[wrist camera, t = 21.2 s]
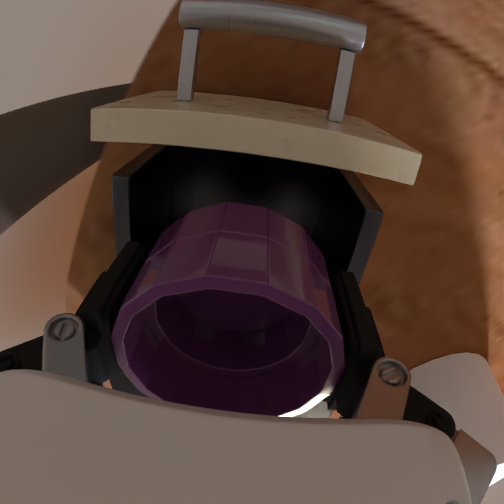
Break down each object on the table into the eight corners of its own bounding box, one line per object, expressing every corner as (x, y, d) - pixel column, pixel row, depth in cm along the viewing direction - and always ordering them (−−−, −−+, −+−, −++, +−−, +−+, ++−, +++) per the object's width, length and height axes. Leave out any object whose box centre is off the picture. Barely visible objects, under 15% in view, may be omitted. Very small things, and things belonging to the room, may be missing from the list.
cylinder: (403, 439, 38) (426, 598, 15) (334, 414, 33) (347, 635, 9) (500, 378, 31) (554, 547, 7) (461, 330, 26) (542, 588, 2)
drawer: (167, 15, 13) (102, -15, 7) (376, 44, 14) (448, 34, 7) (156, 279, 23) (121, 362, 16) (313, 300, 23) (326, 390, 16)
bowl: (158, 325, 14) (130, 407, 10) (152, 186, 11) (93, 257, 7) (302, 345, 15) (308, 431, 11) (344, 213, 11) (381, 296, 7)
